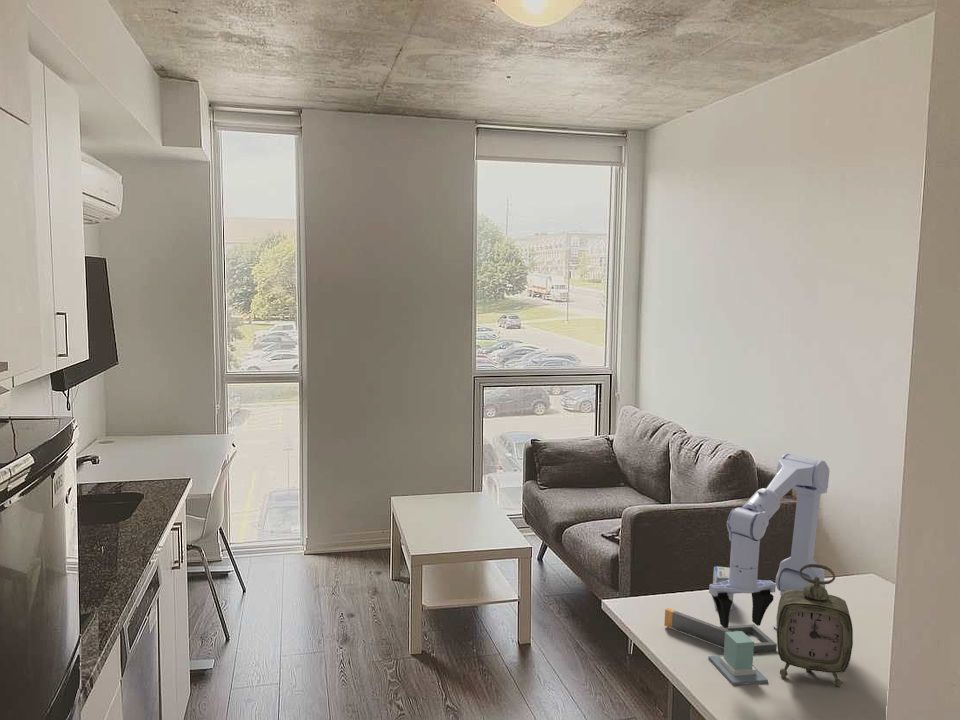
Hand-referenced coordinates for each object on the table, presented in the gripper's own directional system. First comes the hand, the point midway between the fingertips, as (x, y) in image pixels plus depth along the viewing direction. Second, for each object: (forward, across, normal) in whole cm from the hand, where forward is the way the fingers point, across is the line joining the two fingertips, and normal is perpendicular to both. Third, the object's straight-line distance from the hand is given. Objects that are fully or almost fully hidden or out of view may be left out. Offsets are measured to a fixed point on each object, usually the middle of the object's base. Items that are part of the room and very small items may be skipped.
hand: (740, 624), depth 163 cm
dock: (+10, -9, -12) cm, 18 cm away
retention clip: (+10, +1, -14) cm, 17 cm away
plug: (+10, 0, 0) cm, 10 cm away
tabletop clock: (+11, -15, +4) cm, 19 cm away
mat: (+10, 0, 0) cm, 10 cm away
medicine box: (+11, -14, -32) cm, 36 cm away
